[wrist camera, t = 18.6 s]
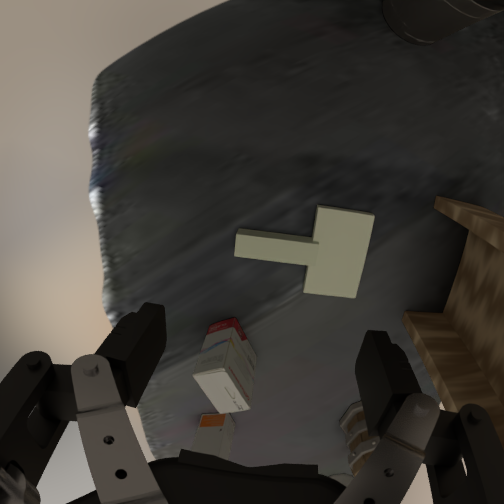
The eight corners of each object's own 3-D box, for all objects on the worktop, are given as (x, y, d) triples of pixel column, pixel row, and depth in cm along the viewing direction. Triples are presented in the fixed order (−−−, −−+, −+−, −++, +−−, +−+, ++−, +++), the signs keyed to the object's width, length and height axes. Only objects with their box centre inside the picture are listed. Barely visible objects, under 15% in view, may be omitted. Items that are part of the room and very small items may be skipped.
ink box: (208, 324, 48) (189, 374, 37) (236, 315, 47) (223, 367, 36) (231, 363, 51) (219, 416, 40) (258, 357, 50) (251, 410, 39)
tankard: (359, 391, 51) (373, 456, 37) (413, 398, 51) (433, 456, 37) (317, 448, 59) (319, 504, 45) (366, 452, 59) (374, 504, 45)
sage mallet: (241, 195, 40) (239, 199, 38) (371, 213, 40) (376, 217, 37) (234, 278, 45) (231, 286, 43) (353, 293, 44) (356, 301, 42)
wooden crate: (436, 195, 38) (616, 314, 8) (482, 206, 37) (643, 313, 7) (401, 320, 45) (478, 498, 15) (446, 322, 44) (533, 475, 15)
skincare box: (228, 411, 56) (218, 460, 44) (235, 423, 57) (227, 471, 46) (200, 413, 57) (187, 460, 46) (208, 425, 58) (196, 471, 47)
